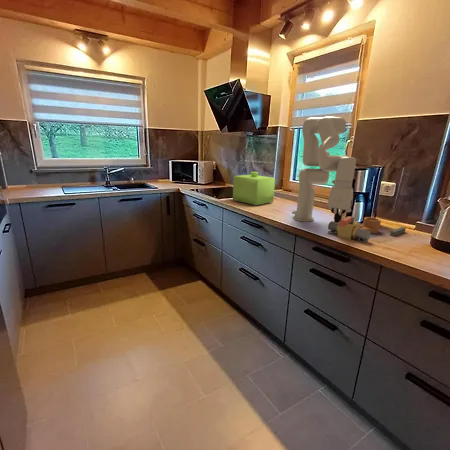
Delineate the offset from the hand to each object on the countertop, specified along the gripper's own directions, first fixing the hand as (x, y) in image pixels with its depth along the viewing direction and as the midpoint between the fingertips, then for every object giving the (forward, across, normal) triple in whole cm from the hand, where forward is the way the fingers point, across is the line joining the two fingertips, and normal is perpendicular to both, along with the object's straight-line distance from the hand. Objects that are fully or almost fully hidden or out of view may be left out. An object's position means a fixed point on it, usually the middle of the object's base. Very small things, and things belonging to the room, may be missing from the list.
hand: (337, 222), depth 132 cm
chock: (+9, +19, +38) cm, 44 cm away
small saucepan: (+10, +4, +28) cm, 30 cm away
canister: (+10, -86, +43) cm, 97 cm away
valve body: (+9, +2, +10) cm, 14 cm away
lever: (+1, +2, +10) cm, 11 cm away
